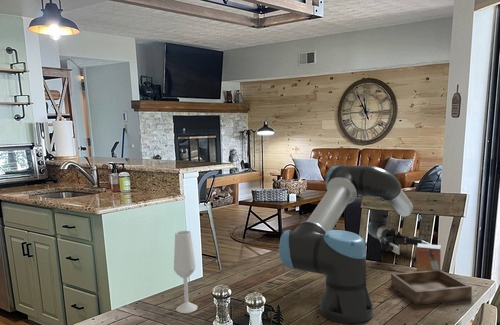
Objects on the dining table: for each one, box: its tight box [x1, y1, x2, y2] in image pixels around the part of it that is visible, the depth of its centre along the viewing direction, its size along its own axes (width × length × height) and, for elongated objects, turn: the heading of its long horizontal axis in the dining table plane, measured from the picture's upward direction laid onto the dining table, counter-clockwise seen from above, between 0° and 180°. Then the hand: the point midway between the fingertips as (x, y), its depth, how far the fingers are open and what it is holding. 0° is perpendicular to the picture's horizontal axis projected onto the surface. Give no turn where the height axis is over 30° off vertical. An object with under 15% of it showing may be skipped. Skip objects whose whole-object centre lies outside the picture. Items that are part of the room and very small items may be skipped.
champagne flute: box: [173, 230, 199, 314], centre depth 123 cm, size 7×7×24 cm
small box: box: [416, 243, 442, 272], centre depth 144 cm, size 8×6×10 cm
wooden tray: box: [390, 269, 473, 306], centre depth 129 cm, size 18×16×4 cm
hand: (415, 249), depth 154 cm, fingers open, 13 cm apart
